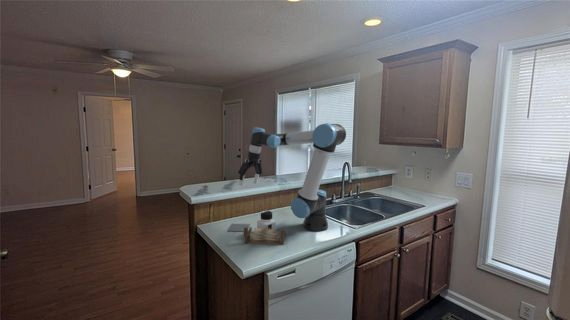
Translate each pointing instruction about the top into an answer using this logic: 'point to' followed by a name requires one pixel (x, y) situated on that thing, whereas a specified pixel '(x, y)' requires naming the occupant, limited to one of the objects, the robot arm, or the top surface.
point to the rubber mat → (238, 227)
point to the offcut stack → (264, 234)
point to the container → (266, 221)
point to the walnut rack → (247, 235)
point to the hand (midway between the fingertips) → (248, 184)
